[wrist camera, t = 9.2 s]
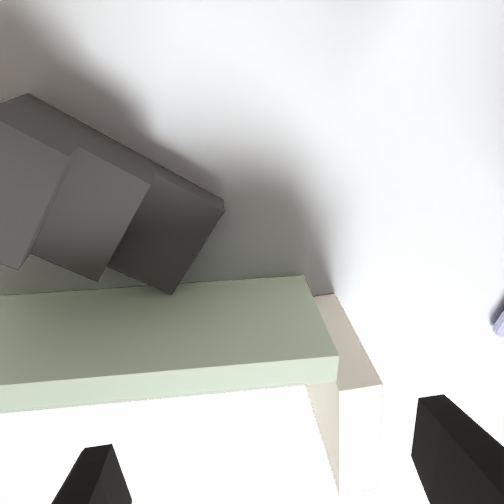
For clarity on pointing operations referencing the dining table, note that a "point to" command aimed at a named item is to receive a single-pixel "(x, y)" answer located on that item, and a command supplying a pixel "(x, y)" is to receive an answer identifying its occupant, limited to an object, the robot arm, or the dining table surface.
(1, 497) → the dining table surface
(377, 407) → the rectangular block
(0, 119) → the grey stepped block
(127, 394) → the door
